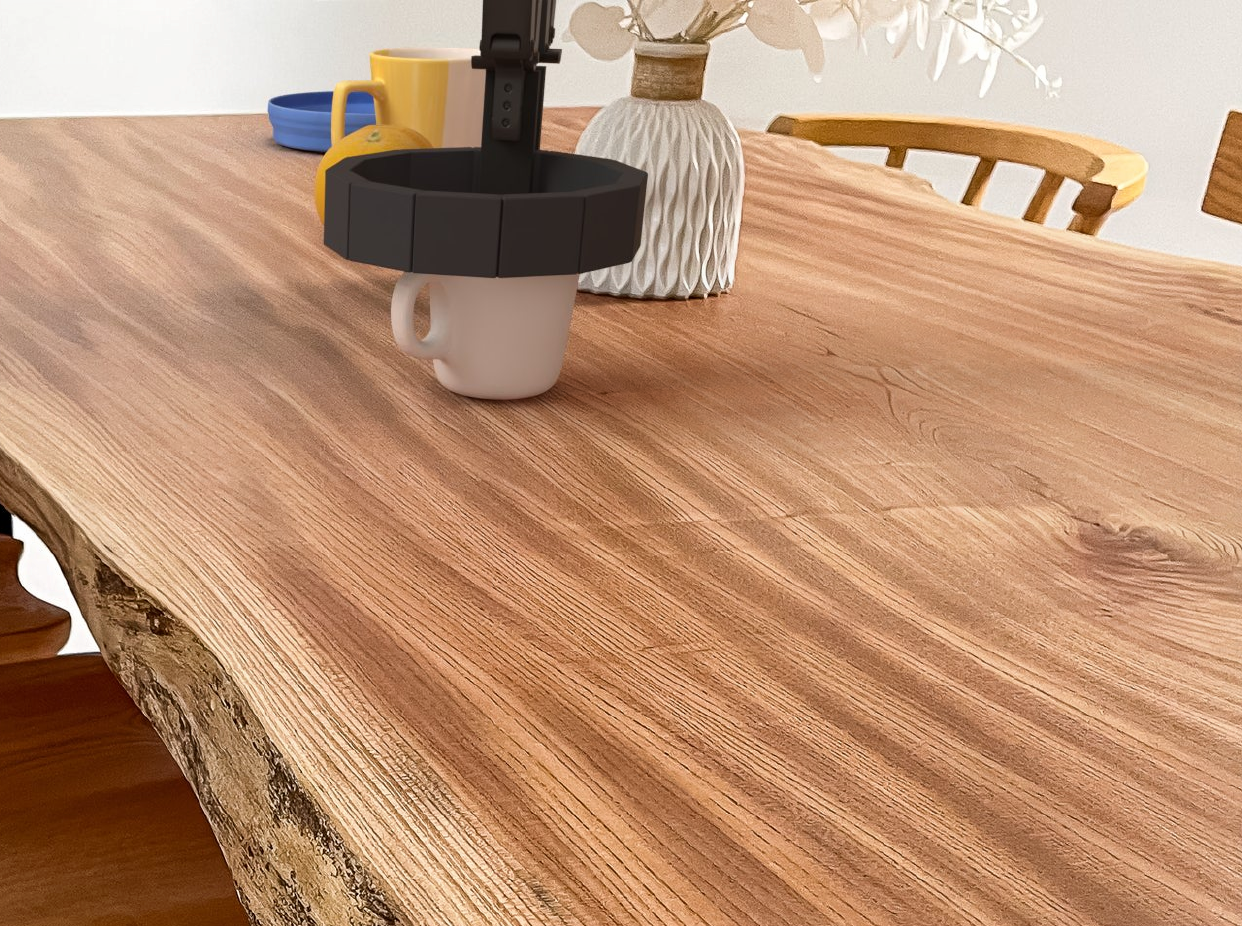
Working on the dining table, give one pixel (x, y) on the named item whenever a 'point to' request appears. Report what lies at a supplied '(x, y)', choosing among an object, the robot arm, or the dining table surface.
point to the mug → (421, 94)
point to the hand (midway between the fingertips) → (506, 202)
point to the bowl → (316, 118)
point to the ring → (483, 214)
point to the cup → (489, 331)
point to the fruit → (365, 151)
